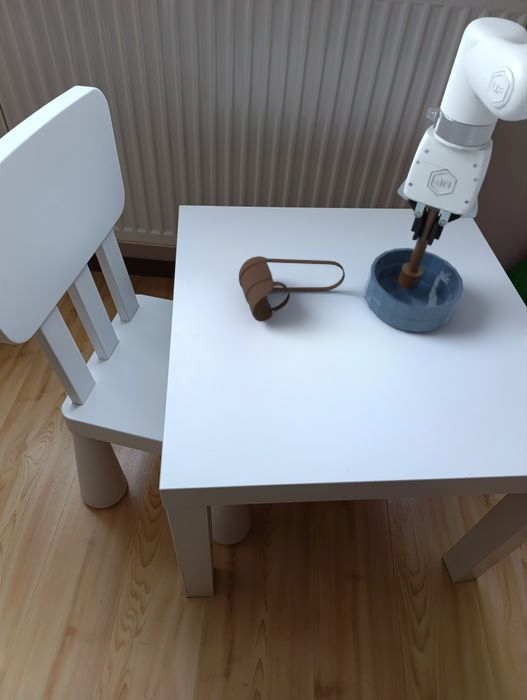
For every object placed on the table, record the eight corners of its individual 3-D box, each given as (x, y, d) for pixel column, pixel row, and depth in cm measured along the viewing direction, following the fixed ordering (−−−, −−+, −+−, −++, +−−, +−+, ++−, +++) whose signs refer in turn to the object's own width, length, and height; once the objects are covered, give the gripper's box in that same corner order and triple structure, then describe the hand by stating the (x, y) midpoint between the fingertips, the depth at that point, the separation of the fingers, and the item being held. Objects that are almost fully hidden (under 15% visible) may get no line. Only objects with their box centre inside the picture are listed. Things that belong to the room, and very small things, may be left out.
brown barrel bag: (249, 328, 87) (251, 297, 81) (234, 281, 94) (235, 249, 89) (352, 314, 91) (361, 283, 85) (330, 269, 98) (336, 239, 93)
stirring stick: (420, 280, 93) (449, 206, 82) (415, 292, 91) (443, 218, 80) (401, 273, 94) (426, 199, 83) (395, 285, 92) (419, 210, 81)
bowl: (459, 292, 96) (471, 266, 92) (439, 347, 87) (451, 321, 82) (379, 264, 100) (387, 237, 95) (351, 314, 91) (358, 287, 86)
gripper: (399, 121, 71) (369, 234, 85) (519, 155, 67) (467, 268, 81) (414, 100, 76) (384, 211, 90) (527, 131, 72) (477, 242, 86)
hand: (424, 237), depth 85 cm, fingers closed on stirring stick
